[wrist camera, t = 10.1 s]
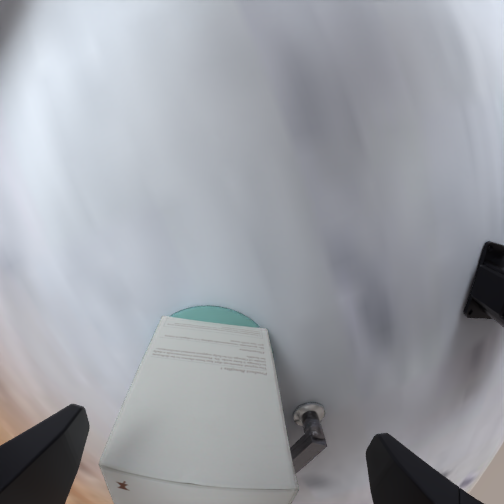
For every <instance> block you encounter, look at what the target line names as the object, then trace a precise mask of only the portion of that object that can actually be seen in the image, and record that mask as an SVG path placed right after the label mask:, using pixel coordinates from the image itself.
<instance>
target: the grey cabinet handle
mask: <svg viewBox="0 0 504 504" xmlns="http://www.w3.org/2000/svg"><path fill="white" fill-rule="evenodd" d="M324 416H325V411H324V408H323V406H322V405H321V404H319V403H315V402H309V403H305V404H302V405H300V406H299V407H298V408H297V409H296V410H295V411H294V414H293V417H294V421H295V423H296V424H298V425H300V426H303V428H304V433H305V434H304V435H303V436H302V437H301V438H300V439H299V440H298V441H297V442H296V443H295V444H294V445H293V446H292V447H291V448H290V452H291V457H292V462H293V467H294V471H295V474H296V473H297V472H298V471H299V470H300V469H302V468H303V467H304V466H305V465H306V464H307V463H309V462H310V461H311V460H312V459H313V458H314V457H315V456H317V455H318V454H319V453H320V452H321V451H322V450H323V449H324V448H325V447H327V445H326V441H325V438H324V434H323V431H322V427H321V424H320V421H321V420H322V419H323V418H324Z"/></svg>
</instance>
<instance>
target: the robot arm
mask: <svg viewBox="0 0 504 504" xmlns="http://www.w3.org/2000/svg"><path fill="white" fill-rule="evenodd" d="M489 246H490V248H489ZM464 315H465V316H467V317H468V318H487V319H493V320H495V321H496V322H498V323H499V324H500V325H502V326H503V327H504V245H501V244H497V243H494V242H490V241H487V242H486V243H485V245H484V248H483V252H482V256H481V259H480V263H479V266H478V270H477V273H476V276H475V280H474V283H473V286H472V289H471V292H470V295H469V298H468V301H467V304H466V307H465V309H464ZM88 432H89V421H88V418H87V414H86V410H85V408H84V407H83V406H80V405H76V404H70V405H69V406H67V407H65V408H64V409H62V410H60V411H59V412H57V413H55V414H54V415H52V416H50V417H49V418H47V419H45V420H44V421H42V422H40V423H39V424H37V425H35V426H34V427H32V428H30V429H28V430H27V431H25V432H23V433H22V434H20V435H18V436H16V437H15V438H13V439H11V440H9V441H8V442H6V443H4V444H2V445H1V446H0V504H65V502H66V499H67V497H68V494H69V492H70V489H71V486H72V484H73V481H74V479H75V476H76V474H77V471H78V468H79V465H80V461H81V458H82V454H83V450H84V446H85V443H86V439H87V436H88ZM366 460H367V467H368V474H369V482H370V489H371V494H372V499H373V503H374V504H484V503H482V502H480V501H479V500H477V499H475V498H474V497H472V496H471V495H469V494H468V493H466V492H465V491H464V490H462V489H461V488H460V489H459V487H458V486H457V485H455V484H454V483H452V482H451V481H450V480H448V479H447V478H446V477H444V476H443V475H442V474H440V473H439V472H438V471H436V470H435V469H434V468H432V467H431V466H430V465H428V464H427V463H426V462H424V461H423V460H422V459H420V458H419V457H418V456H416V455H415V454H414V453H413V452H411V451H410V450H409V449H407V448H406V447H405V446H404V445H402V444H401V443H400V442H398V441H397V440H396V439H395V438H393V437H392V436H391V435H390V434H388V433H381V434H376V435H375V436H374V438H373V439H372V441H371V443H370V445H369V446H368V448H367V451H366Z"/></svg>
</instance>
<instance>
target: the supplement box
mask: <svg viewBox="0 0 504 504" xmlns="http://www.w3.org/2000/svg"><path fill="white" fill-rule="evenodd" d="M99 466H100V469H101V471H102V474H103V476H104V479H105V482H106V485H107V487H108V490H109V492H110V495H111V497H112V500H113V502H114V504H291V502H292V501H293V499H294V497H295V496H296V494H297V492H298V491H299V486H298V483H297V479H296V475H295V471H294V467H293V462H292V457H291V452H290V446H289V441H288V435H287V430H286V424H285V419H284V413H283V408H282V402H281V396H280V391H279V385H278V380H277V374H276V369H275V363H274V358H273V353H272V349H271V344H270V339H269V334H268V330H267V329H265V328H255V327H246V326H237V325H228V324H220V323H212V322H204V321H196V320H189V319H182V318H175V317H169V316H162V318H161V320H160V322H159V324H158V326H157V328H156V331H155V333H154V335H153V337H152V339H151V341H150V344H149V346H148V348H147V350H146V353H145V355H144V357H143V359H142V361H141V364H140V366H139V368H138V370H137V373H136V375H135V377H134V380H133V382H132V384H131V386H130V389H129V391H128V393H127V396H126V398H125V400H124V403H123V405H122V407H121V410H120V412H119V415H118V417H117V419H116V422H115V424H114V427H113V429H112V432H111V434H110V437H109V439H108V442H107V444H106V447H105V449H104V451H103V454H102V456H101V459H100V462H99Z"/></svg>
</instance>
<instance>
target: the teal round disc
mask: <svg viewBox="0 0 504 504" xmlns="http://www.w3.org/2000/svg"><path fill="white" fill-rule="evenodd" d="M169 317H175V318H182V319H189V320H196V321H204V322H212V323H220V324H228V325H237V326H246V327H255V328H260V327H259V326H258V325H257V324H256V323H255V322H254V321H252V320H251V319H250V318H248V317H246V316H245V315H243V314H241V313H239V312H236V311H234V310H231V309H228V308H224V307H219V306H196V307H190V308H187V309H183V310H181V311H179V312H176V313H174V314H173V315H171V316H169ZM271 349H272V347H271ZM272 353H273V351H272ZM273 358H274V356H273Z"/></svg>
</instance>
